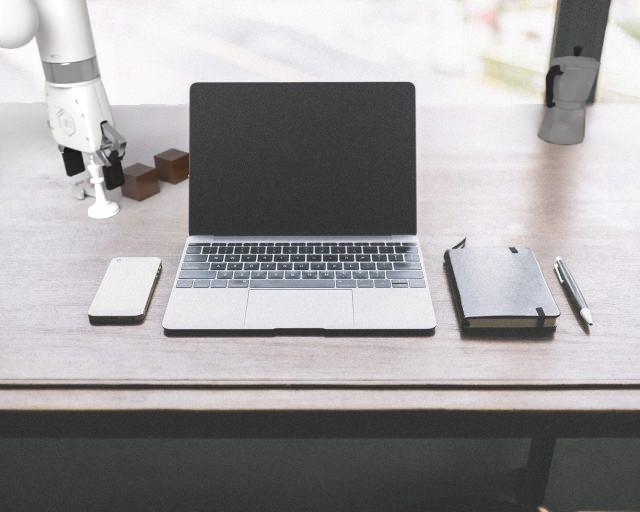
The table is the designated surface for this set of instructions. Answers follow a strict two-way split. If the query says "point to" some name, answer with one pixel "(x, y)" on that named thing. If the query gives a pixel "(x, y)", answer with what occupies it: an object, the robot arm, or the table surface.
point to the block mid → (140, 182)
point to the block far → (172, 166)
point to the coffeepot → (567, 98)
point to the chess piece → (100, 195)
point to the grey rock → (83, 188)
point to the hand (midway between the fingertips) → (95, 180)
